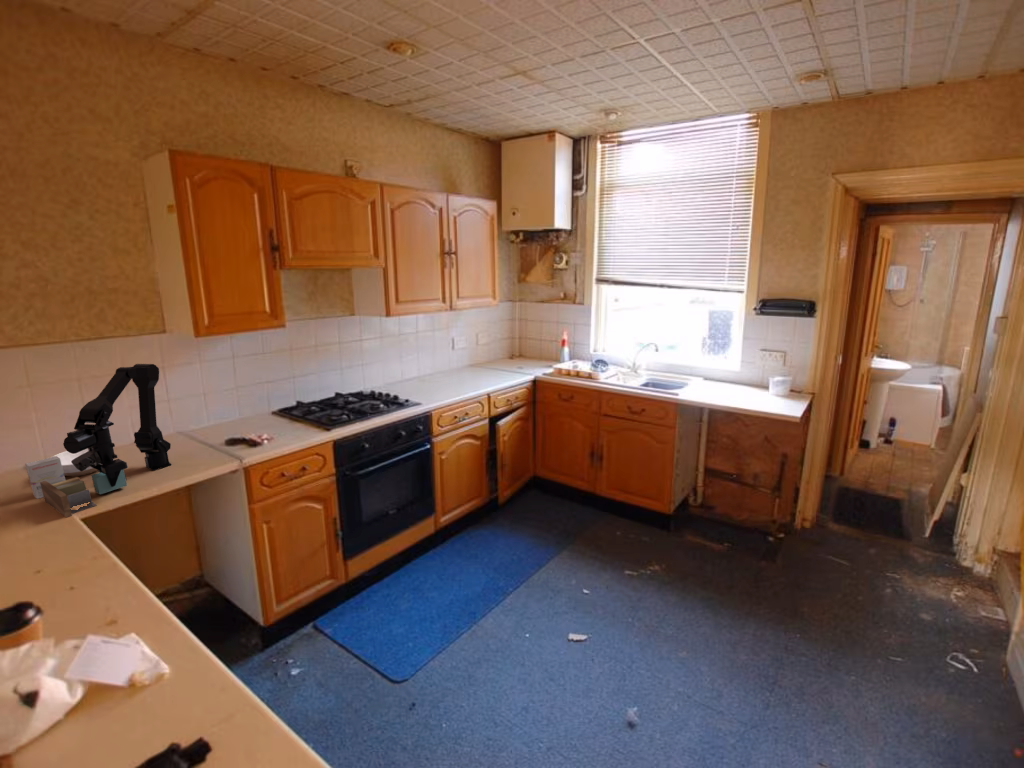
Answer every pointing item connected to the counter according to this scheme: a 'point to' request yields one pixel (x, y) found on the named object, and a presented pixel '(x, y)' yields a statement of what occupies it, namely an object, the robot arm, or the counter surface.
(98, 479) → the grey teal rectangular block
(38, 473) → the ink box
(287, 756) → the counter surface
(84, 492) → the grey metal bookend
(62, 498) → the walnut back wall
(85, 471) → the bowl
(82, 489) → the row of shelved books
